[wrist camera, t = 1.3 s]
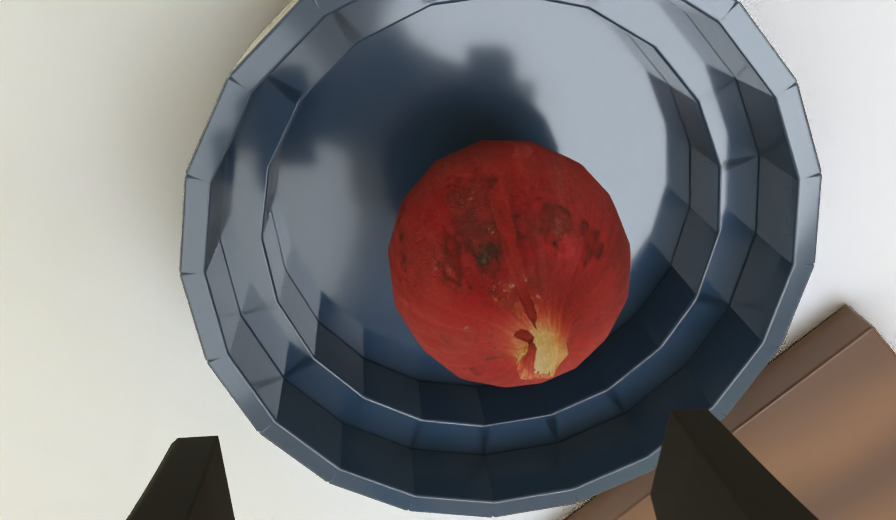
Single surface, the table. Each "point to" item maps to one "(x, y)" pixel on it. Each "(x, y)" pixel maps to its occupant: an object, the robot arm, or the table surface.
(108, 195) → the table surface
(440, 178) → the onion
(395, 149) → the bowl
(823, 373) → the board
